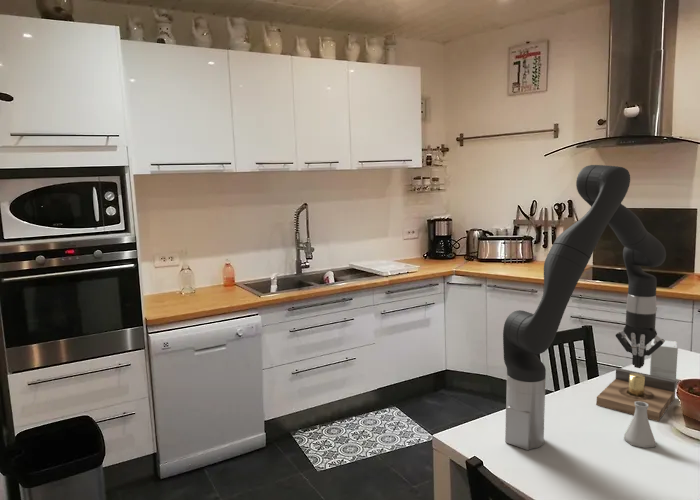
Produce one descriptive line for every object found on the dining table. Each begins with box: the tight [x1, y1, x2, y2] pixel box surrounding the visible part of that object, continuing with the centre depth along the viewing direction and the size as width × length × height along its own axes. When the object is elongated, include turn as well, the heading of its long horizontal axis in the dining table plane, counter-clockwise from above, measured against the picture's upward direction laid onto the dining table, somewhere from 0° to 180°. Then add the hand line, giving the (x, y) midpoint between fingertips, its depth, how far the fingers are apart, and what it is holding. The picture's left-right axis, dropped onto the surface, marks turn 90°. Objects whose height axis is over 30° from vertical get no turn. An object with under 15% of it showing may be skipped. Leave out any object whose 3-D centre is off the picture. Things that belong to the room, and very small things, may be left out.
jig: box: [595, 367, 677, 422], centre depth 151 cm, size 20×16×6 cm
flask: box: [623, 401, 656, 449], centre depth 128 cm, size 7×7×10 cm
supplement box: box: [649, 339, 679, 381], centre depth 166 cm, size 7×7×13 cm
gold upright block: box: [628, 373, 645, 397], centre depth 151 cm, size 4×4×8 cm
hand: (638, 367), depth 150 cm, fingers closed
